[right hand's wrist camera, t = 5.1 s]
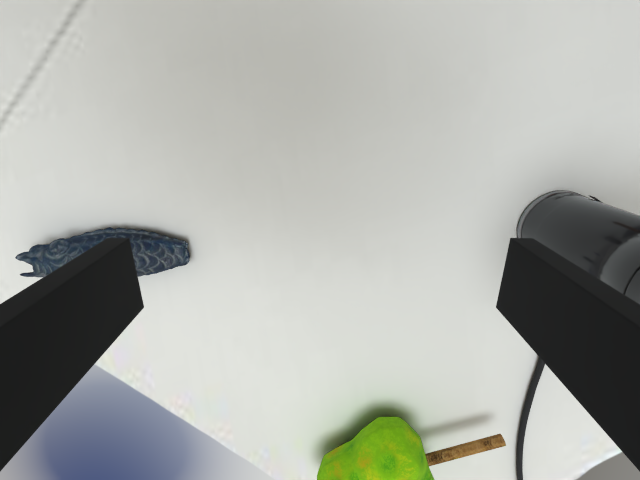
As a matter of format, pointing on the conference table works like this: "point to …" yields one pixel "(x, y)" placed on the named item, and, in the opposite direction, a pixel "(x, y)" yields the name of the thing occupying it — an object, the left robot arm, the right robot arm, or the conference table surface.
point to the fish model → (146, 246)
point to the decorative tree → (393, 454)
